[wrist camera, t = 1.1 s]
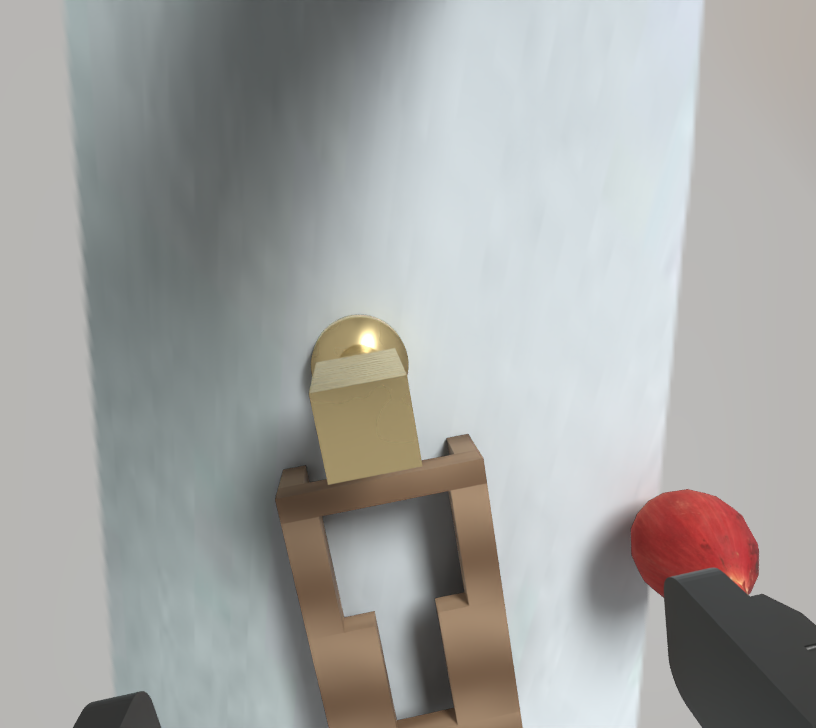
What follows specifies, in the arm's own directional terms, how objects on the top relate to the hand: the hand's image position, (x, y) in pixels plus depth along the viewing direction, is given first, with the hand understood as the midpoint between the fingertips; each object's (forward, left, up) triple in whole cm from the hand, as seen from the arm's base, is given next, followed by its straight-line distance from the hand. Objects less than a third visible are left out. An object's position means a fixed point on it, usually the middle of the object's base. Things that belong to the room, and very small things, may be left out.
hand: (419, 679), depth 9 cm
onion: (+12, +15, -22) cm, 29 cm away
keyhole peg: (0, 0, -22) cm, 22 cm away
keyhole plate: (+14, 0, -22) cm, 26 cm away
